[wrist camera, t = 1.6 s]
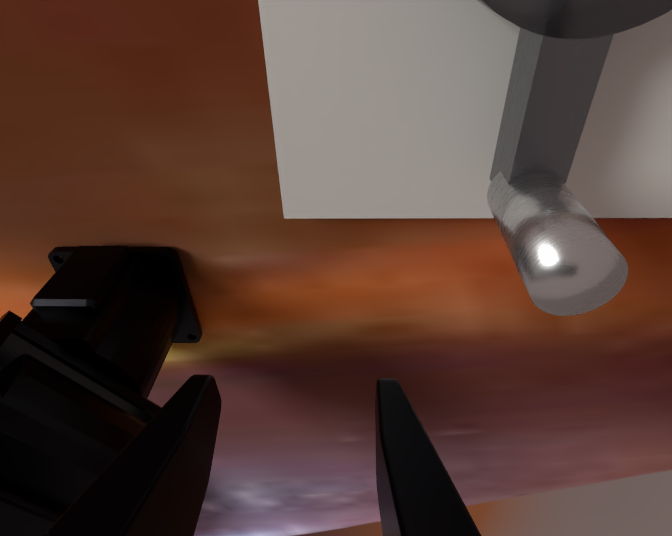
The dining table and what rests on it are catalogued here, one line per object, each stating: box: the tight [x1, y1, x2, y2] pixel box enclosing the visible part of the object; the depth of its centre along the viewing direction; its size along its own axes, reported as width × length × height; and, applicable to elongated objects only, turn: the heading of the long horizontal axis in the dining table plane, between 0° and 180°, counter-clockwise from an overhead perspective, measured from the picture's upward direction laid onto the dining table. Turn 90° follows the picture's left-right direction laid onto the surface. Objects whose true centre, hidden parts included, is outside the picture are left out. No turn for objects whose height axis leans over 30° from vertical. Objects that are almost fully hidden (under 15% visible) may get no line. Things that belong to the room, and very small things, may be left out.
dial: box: [477, 0, 672, 316], centre depth 11 cm, size 14×8×7 cm, turn 2°
